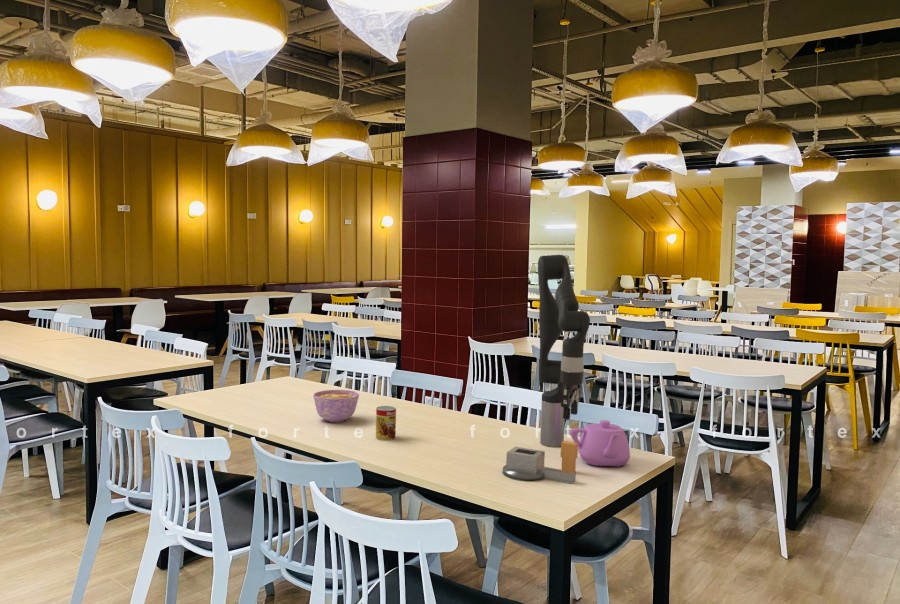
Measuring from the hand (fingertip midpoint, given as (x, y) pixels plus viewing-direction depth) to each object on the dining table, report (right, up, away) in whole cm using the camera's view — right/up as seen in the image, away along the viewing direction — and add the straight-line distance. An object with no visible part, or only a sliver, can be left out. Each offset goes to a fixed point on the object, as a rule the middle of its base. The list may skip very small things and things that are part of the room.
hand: (570, 416), depth 219 cm
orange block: (0, -19, +1) cm, 19 cm away
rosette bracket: (-11, -19, -4) cm, 23 cm away
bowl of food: (-91, -13, +64) cm, 113 cm away
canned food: (-67, -15, +38) cm, 78 cm away
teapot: (+15, -19, +12) cm, 27 cm away
